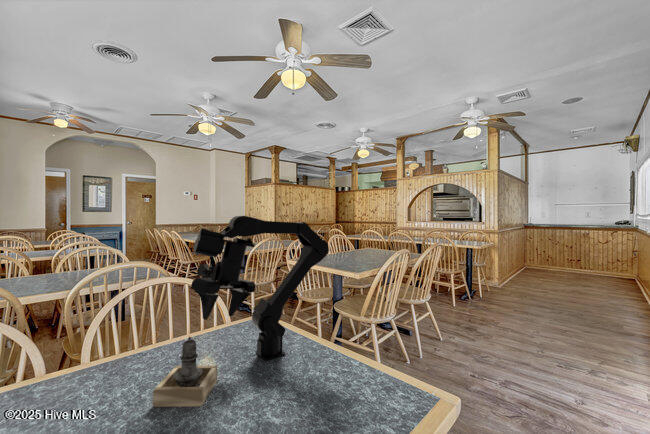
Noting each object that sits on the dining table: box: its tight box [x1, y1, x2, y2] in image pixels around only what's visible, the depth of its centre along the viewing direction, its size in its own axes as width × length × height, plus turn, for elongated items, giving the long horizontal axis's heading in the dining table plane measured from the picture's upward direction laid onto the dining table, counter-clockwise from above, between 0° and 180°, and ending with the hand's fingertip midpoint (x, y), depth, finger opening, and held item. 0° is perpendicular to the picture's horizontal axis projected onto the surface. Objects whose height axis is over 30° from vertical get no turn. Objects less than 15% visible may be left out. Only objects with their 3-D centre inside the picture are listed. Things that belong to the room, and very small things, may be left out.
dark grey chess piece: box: [174, 335, 203, 387], centre depth 66 cm, size 6×6×12 cm
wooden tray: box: [152, 365, 218, 408], centre depth 66 cm, size 10×10×4 cm
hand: (218, 317), depth 78 cm, fingers open, 9 cm apart
